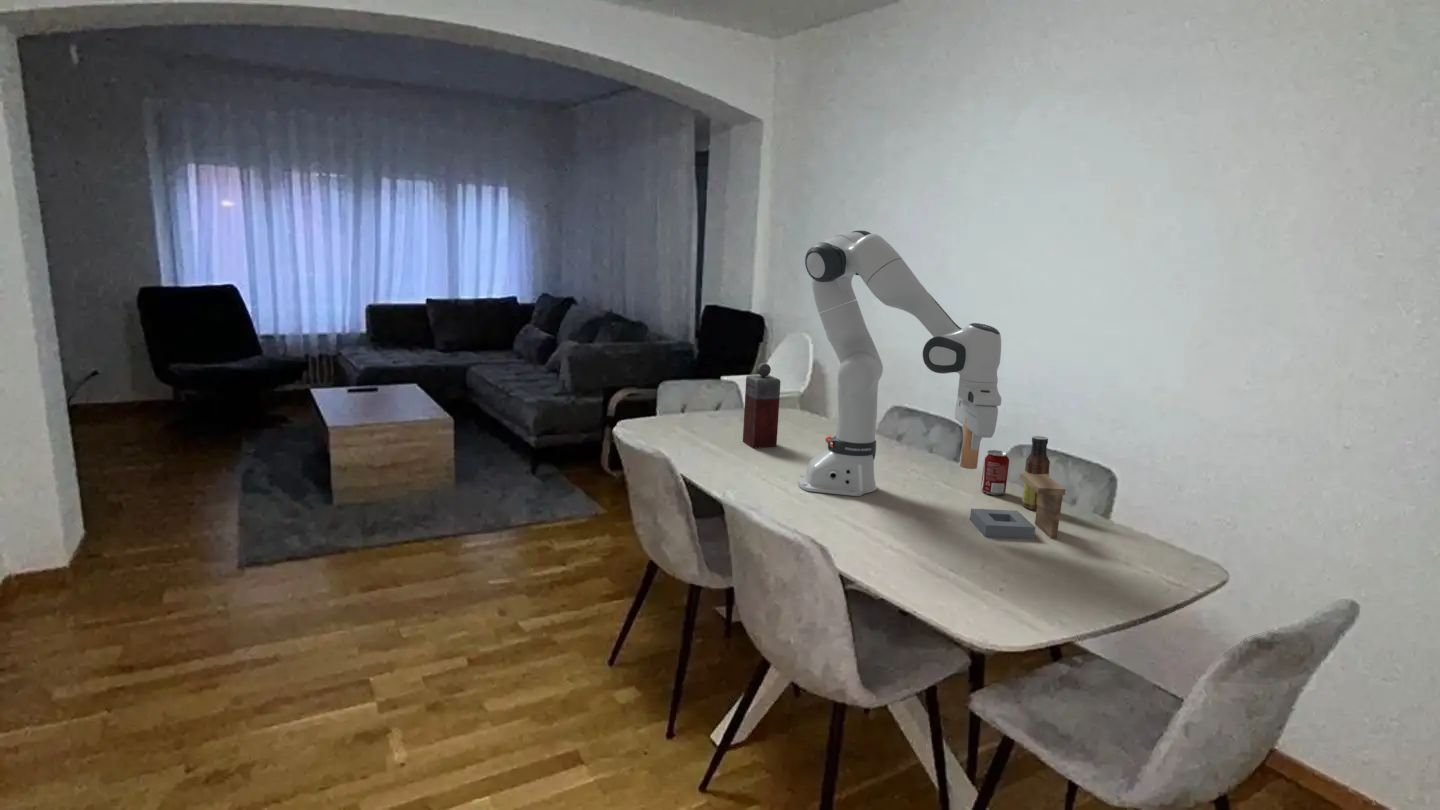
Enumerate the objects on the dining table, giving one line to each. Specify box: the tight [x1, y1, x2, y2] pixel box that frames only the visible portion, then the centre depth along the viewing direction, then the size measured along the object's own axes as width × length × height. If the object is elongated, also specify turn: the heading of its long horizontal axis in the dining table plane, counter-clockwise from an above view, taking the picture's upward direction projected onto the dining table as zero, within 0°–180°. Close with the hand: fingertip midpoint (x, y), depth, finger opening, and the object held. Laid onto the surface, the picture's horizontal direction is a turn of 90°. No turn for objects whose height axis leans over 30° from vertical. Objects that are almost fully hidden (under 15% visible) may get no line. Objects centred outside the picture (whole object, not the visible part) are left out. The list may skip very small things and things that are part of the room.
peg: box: [959, 419, 981, 470], centre depth 194 cm, size 4×4×12 cm
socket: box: [969, 508, 1036, 540], centre depth 198 cm, size 12×12×3 cm
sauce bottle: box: [1021, 435, 1051, 511], centre depth 214 cm, size 7×6×20 cm
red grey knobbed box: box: [742, 362, 782, 449], centre depth 268 cm, size 9×11×28 cm
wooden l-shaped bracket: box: [1019, 472, 1066, 539], centre depth 197 cm, size 6×12×13 cm, turn 0°
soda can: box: [980, 449, 1010, 496], centre depth 227 cm, size 7×7×12 cm
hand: (970, 446), depth 194 cm, fingers closed on peg, 4 cm apart
